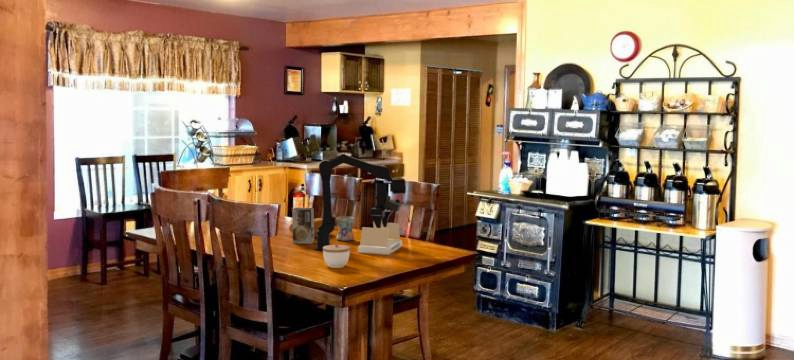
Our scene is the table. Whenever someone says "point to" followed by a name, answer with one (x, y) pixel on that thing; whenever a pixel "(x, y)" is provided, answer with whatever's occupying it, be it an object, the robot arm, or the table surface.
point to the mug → (345, 228)
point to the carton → (381, 248)
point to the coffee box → (303, 225)
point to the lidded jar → (336, 255)
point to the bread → (316, 225)
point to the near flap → (374, 237)
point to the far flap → (391, 230)
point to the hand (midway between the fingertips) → (382, 228)
